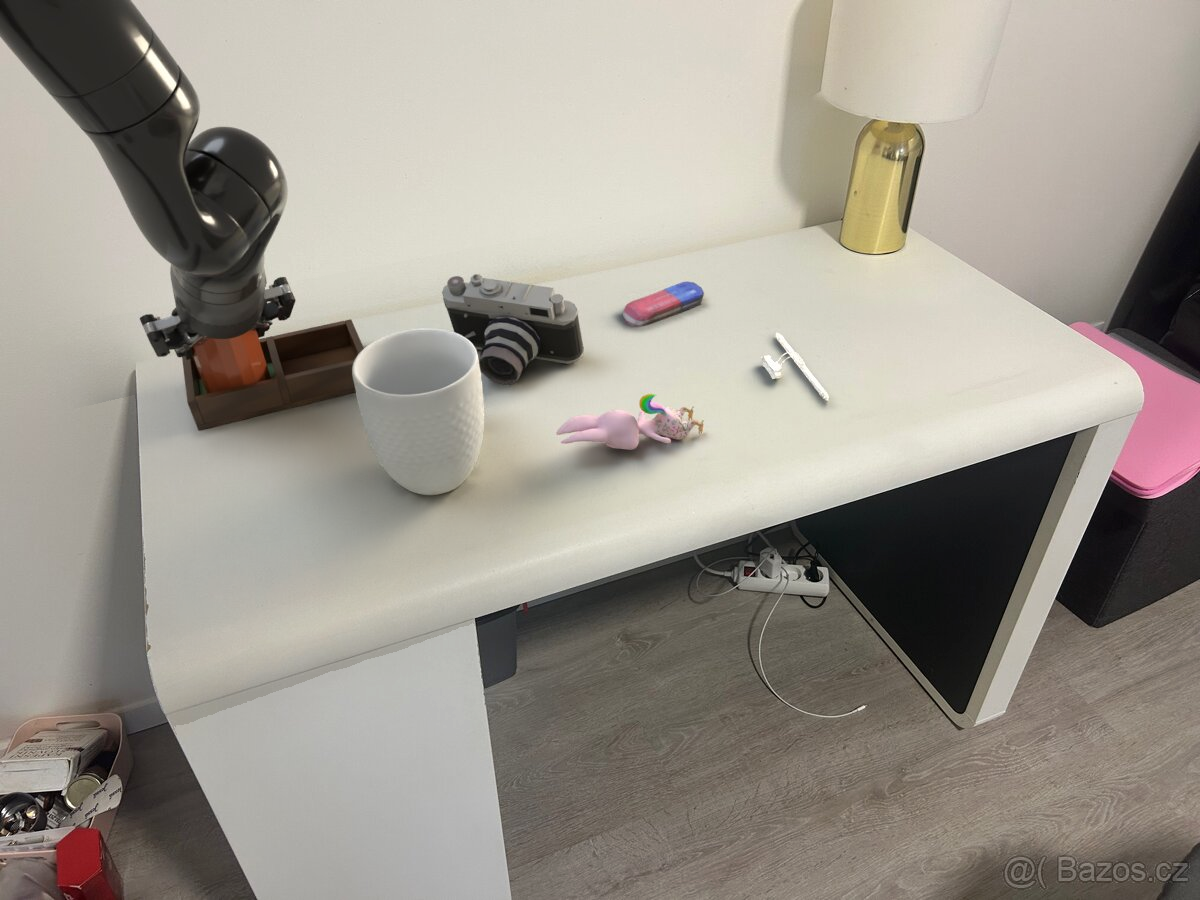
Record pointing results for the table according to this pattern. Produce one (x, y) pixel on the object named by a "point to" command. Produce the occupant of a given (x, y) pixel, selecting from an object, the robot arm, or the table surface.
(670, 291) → the eraser
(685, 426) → the rabbit figure
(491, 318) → the camera
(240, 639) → the table surface
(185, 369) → the holder
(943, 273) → the table surface
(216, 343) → the cup
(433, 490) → the mug
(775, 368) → the picture light
